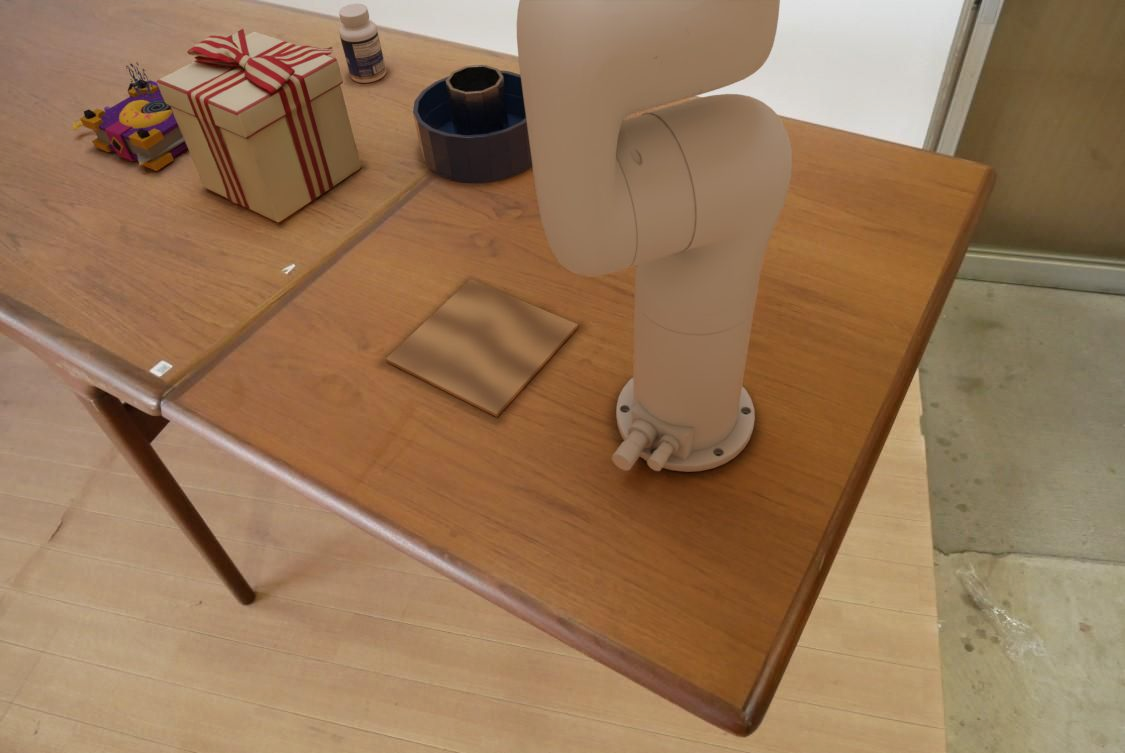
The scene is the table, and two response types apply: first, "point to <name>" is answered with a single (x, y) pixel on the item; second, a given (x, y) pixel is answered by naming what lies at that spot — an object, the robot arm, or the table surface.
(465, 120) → the small pot
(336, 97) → the gift box
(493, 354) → the plate
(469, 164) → the dark blue round tub
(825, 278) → the table surface
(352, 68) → the pill bottle
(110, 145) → the lego model
